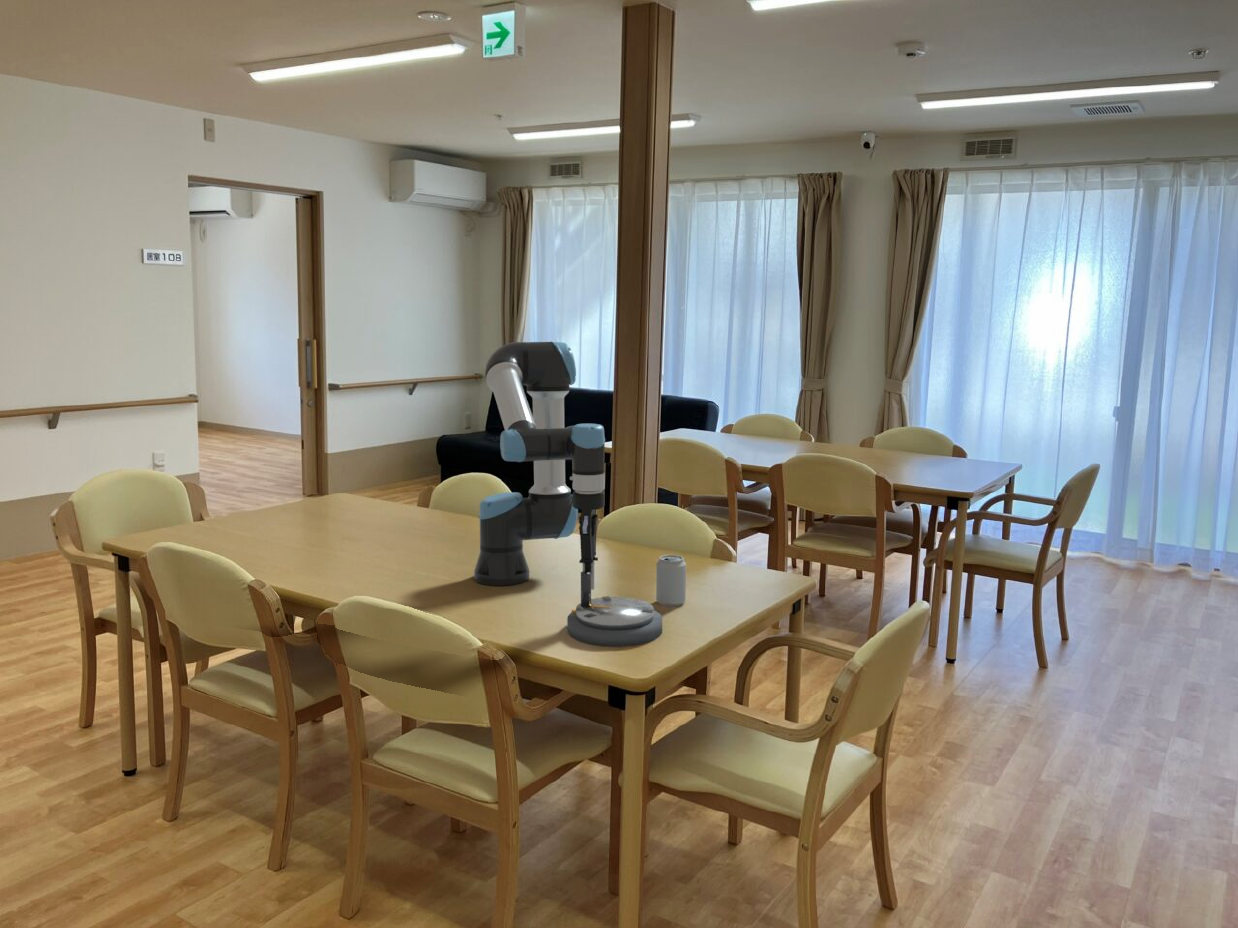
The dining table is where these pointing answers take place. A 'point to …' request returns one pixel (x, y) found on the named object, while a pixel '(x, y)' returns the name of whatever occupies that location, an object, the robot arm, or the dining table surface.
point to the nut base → (614, 633)
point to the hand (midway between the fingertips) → (588, 588)
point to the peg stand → (611, 609)
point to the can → (671, 580)
